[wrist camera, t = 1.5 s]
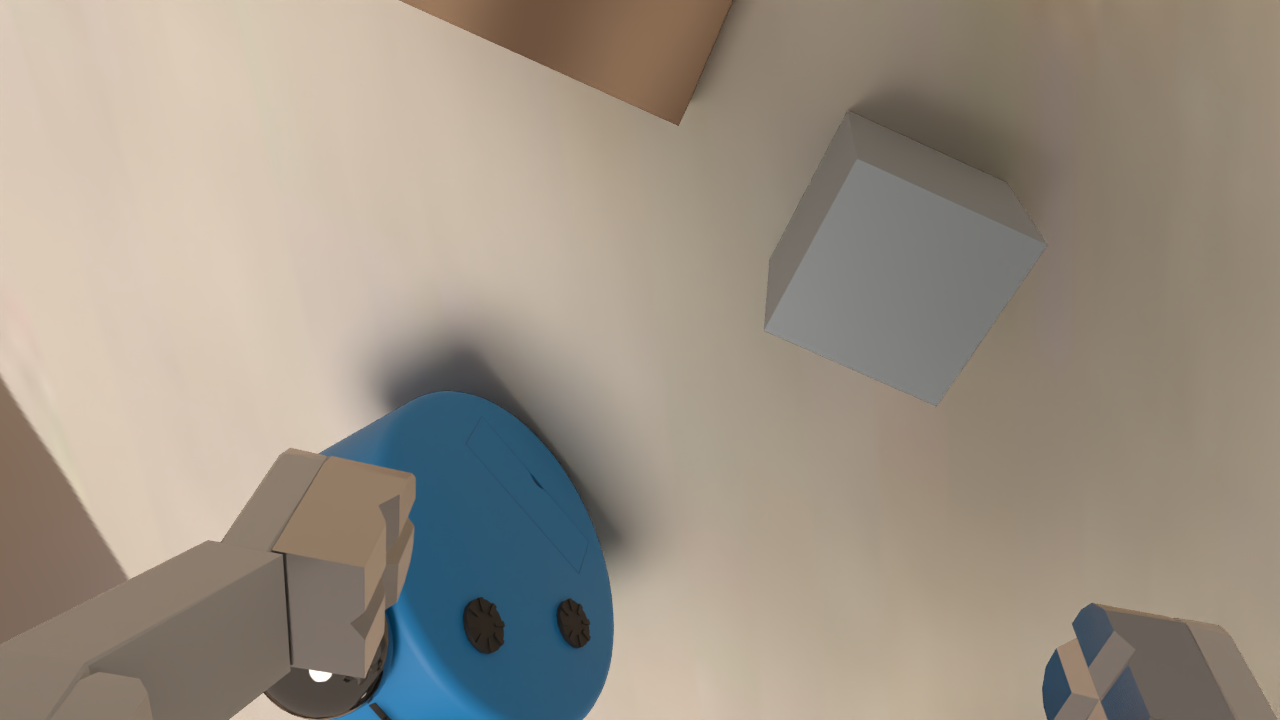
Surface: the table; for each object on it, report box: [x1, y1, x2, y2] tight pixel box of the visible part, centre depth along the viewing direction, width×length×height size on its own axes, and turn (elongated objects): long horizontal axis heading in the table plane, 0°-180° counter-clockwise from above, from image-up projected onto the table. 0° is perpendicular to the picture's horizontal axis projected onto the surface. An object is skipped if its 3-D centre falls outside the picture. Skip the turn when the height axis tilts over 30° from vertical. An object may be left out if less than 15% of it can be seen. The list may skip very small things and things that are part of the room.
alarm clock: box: [263, 391, 614, 720], centre depth 34 cm, size 13×6×15 cm, turn 35°
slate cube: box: [764, 111, 1047, 406], centre depth 30 cm, size 6×6×6 cm
